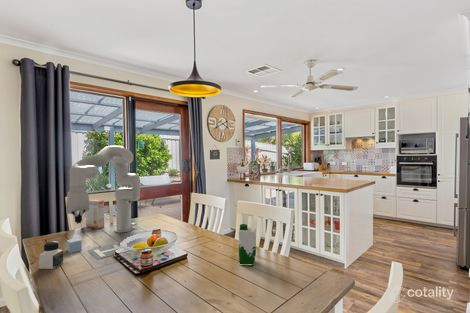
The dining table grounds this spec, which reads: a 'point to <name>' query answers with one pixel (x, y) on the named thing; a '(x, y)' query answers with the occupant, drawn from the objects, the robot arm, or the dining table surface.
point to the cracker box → (95, 214)
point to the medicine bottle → (51, 256)
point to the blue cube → (74, 245)
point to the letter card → (104, 251)
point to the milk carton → (247, 244)
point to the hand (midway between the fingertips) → (78, 222)
